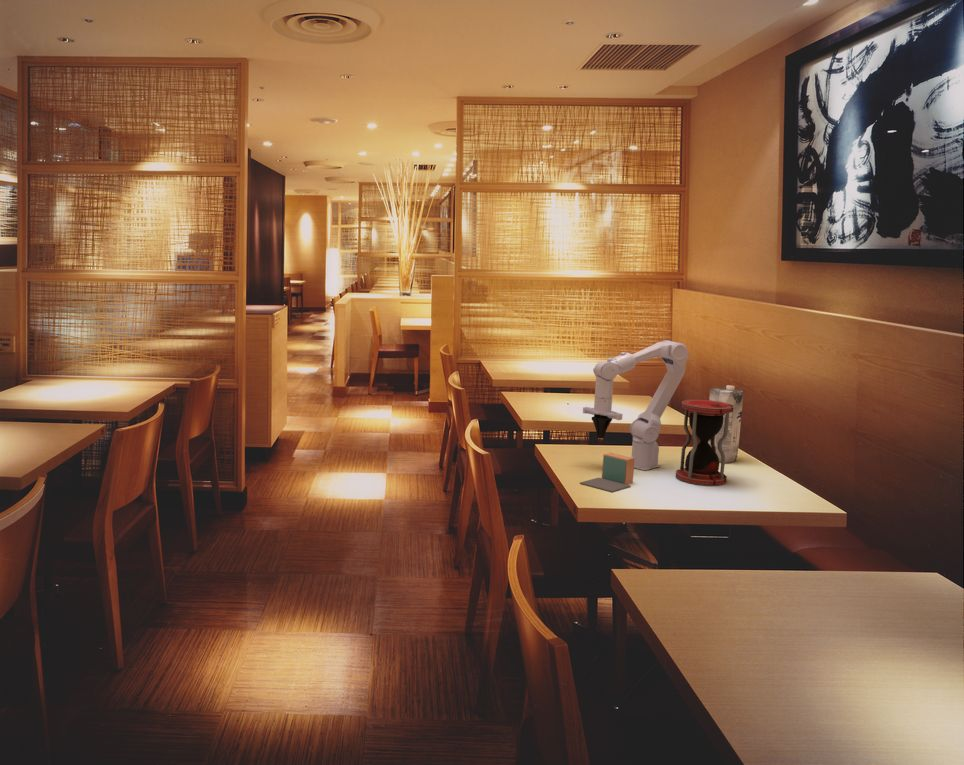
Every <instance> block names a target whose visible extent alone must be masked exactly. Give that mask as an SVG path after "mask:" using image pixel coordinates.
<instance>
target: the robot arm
mask: <svg viewBox="0 0 964 765" xmlns="http://www.w3.org/2000/svg"><path fill="white" fill-rule="evenodd" d="M689 356H690V353H689V351H688V348H687V346H686V344H685V343H683V342H675V341H672V340H669V339H665V340H662V341H658V342H656V343H654V344H652V345H650V346H648V347H645V348H643V349H641V350H639V351H636V352H635V353H633V354H631V353H630V352H624V351H622V352H620V354H619V355H616V356H614V357H608V358H607V361H606V360H599V361H598V362H596V364H595V366H594V367H593V370H592V371H593V373H594V376H595V386H594V387H595V389H594V403H593V404H594V405H593V407H587V406H584V407H582V414H588V415H593V416H592V417H591V421H592V422H593V425H594V428H595V433H596V437H597V439H600V440H602V439H605V435H606V433H607V430H608V428H609V426H610V424H611V422H612V421H613V420H616V421H621V420H623V413H620V412H617V411H614V410H612V405H613V393H614V392H613V390H614V379H615V378H616V377H617V376H619V375H620V374H623V373H626V372H628V371H631V370H633V369H634V368H635V367H636V364H640V363H641V362H644V361H645V362H646V361H648V360H651V359H654V358H658V357H659V358H660V359H661V360H662V361H663V363H664V364H665V367H666V373H665V374H664V377H663V378H662V380H661V382H660V383H659V385H658V388H657V389H656V391H655V392H654V394H653V397H652V398H651V400H650V401H649V404H648V406H647V408H646V409H645V410H644V411H643V412H642V413H640V414H638V417H637V418H636V419H635V420H634V421H632V422H631V424H630V426H629V431H630V434H631V436H632V444H631V445H632V446H631V447H632V448H631V457H632V458H635V460H634V469H638V470H642V471H648V470H652V469H655V468H658V467H659V468H660V467H661V465H660V464H658V463H659V453H660V447H659V444H658V442H657V439H659V438H658V437H660V436H659V435H660V429H661V427H662V422H661V417H662V415H663V414H664V412H665V410H666V408H667V407H668V405H669V403H670V402H671V399H672V398H673V396H674V394H675V392H676V390H677V388H678V387H679V385H680V383H681V381H682V379H683V377H684V376H685V373H686V368H687V361H688V358H689Z"/></svg>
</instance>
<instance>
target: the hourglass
mask: <svg viewBox="0 0 964 765" xmlns="http://www.w3.org/2000/svg"><path fill="white" fill-rule="evenodd" d="M681 408H683V409H684V419H683V429H684V431H685V434H686V440H685V441H686V442H685V443H684V444H683V445H682V448H681V456H680V466H679V469H676V471H675V477H676V479H677V480H679V481H681V482H685V483H688V484H692V485H698V486H711V487H712V486H721V485H725V484H726V483H727V478H728V476H727V475H726V474H725V464H726V463H725V454H724V452H723V450H722V442H723V440H724V439H725V438H726V436H727V433H728V422H729V413H731V412H733V405H731V404H728V403H724V402H720V401H711V400H709V399H685V400H682V401H681ZM725 413H726V416H725V426H724V434H723V436H722V438H721V439H719V442H718V444H717V446H718V451H719V452H720V454H721V462H719V458H718V455H717V454H716V446H715V435H716V434H717V433H718V432H719V431H720V430H721V428H722V425H723V415H725ZM688 424H689V427H690V429H691V432H690V430H689V428H688ZM698 439H699V443H698ZM709 440H711V446H712V447H711V446H710V445H709V444H708V441H709ZM691 441H693V442H692V448H691V449H690V451H688V453H687V454H686V448H688V447H687V446H689V445H690V444H691ZM685 457H686V458H685ZM719 468H720V470H719Z"/></svg>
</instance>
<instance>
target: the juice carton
mask: <svg viewBox="0 0 964 765" xmlns="http://www.w3.org/2000/svg"><path fill="white" fill-rule="evenodd" d="M735 388H736V387H735V385H726V387H713V388H709V398H708V400H711V401H720V402H724V403H728V404H731V405H733V412H731V413H729V422H728V433H727V436H726V438H725V439H724V440H723V442H722V450H723V452H724V454H725V464H727V463H734V462H736V461H737V457H738V453H739V445H740V435H741V426H742V425H741V423H742V415H743V402H744V391H743V390H738V389H735ZM725 416H726V413H725V415H723V425H722V428H721V430H720V431H719V432H718V433H717V434H716V435H715V446H716V454H717V455H718V458H719V463H721V454H720V452H719V451H718V446H717V444H718V442H719V439H721V438H722V436H723V434H724V426H725ZM708 444H709V445H710V446H711V440H709V441H708ZM711 447H712V446H711Z"/></svg>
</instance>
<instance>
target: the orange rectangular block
mask: <svg viewBox="0 0 964 765" xmlns="http://www.w3.org/2000/svg"><path fill="white" fill-rule="evenodd" d="M602 456H603V458H602V469H601V470H602V471H601V478H603V479H607V480H611V481H615V482H618V483H622V484H626V485H630V484H632V483H633V482H634V474H635V472H634V470H635V468H634V460H635V458H632V456H628V455H623V454H619V453H614V452H608V453H604V454H603V455H602ZM629 483H630V484H629Z"/></svg>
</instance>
